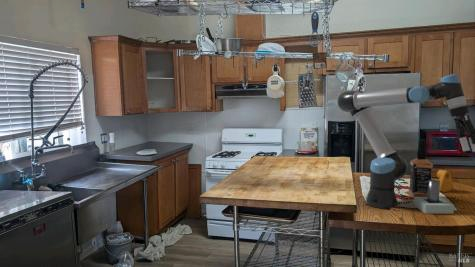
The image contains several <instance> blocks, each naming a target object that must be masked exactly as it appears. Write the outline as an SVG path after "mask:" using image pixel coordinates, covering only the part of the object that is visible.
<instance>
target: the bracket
mask: <svg viewBox="0 0 475 267" xmlns="http://www.w3.org/2000/svg"><path fill="white" fill-rule="evenodd" d="M436 177H437V178H438V180H439V181H440V192H442V193H445V192H450V191H451V190H454V184H453V183H454V182H453V178H452V174H451V171H450V170H445V169H439V170H438V171H437V173H436Z"/></svg>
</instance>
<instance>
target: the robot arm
mask: <svg viewBox="0 0 475 267" xmlns="http://www.w3.org/2000/svg"><path fill="white" fill-rule="evenodd" d="M444 98H445V100H446V104H447V106H448V109H449V114H450V117H452V118H453V120H454V125H455V131H456V137H457V138H459V142H460V144H461V148H462V152H467V151H470V150H471V151H472V152H473V153H475V127H474V124H473V123H472V120H471V119H470V115H468V114H469V113H470V109H469V106H468V105H467V97H465V94H464V89H463V86H462V82H461V81H460V77H459V75H458V74H456V73H452V74H449V75H446V76H443V77H441V78H440V82H438V83H435V84H431V85H424V86H423V85H417V86H413V87H403V88H394V89H384V90H376V91H367V92H365V91H363V90H346V91H343V92H342V93H341V94H340V95H339V96H338V97H337V107H338V108H339V109H340V110H342V111H343V112H346V113H350V115H351V117H352V118H353V119H356V120H357V122H358V124H359V126H360V127H361V129H362V131H363V133H364V134H365V136H366V138H367V140H368V142H369V144H370V145H371V148H372V150H373V151H374V153H375V155H376V158H374V159H372V160H371V162H370V167H369V168H370V171H369V172H370V175H369V178H370V180H369V182H370V183H369V190H368V193H367V195H366V199H365V203H366V204H367V205H368V206H370V207H373V208H377V209H391V208H393V207H397V206H398V198H397V195H396V191H395V181H397V180H400V179H401V178H403V177H405V175H406V174H407V173H408V170H409V165H408V162H407V160H406V159H405V158H403V157H402V156H400V154H399V153H398V151H396V150H394V149H393V148H392V146H391V145H390V143H389V141H388V139H387V138H386V136H385V134H384V132H383V130H382V129H381V127H380V125H379V123H378V122H377V120H376V118H375V116H374V114H373V113H372V110H373V107H379V106H380V107H381V106H390V105H391V106H394V105H403V104H404V105H406V104H417V103H418V104H422V105H423V104H427V103H431V102H434V101H438V100H441V99H444ZM466 114H467V115H466ZM454 117H455V118H454ZM467 138H468V139H467ZM469 145H470V146H469ZM470 147H471V148H470Z"/></svg>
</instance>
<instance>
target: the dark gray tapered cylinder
mask: <svg viewBox="0 0 475 267" xmlns="http://www.w3.org/2000/svg"><path fill="white" fill-rule="evenodd" d="M440 192H441V191H440V181H439V179H432V178H431V180H428V196H427V202H428V203H439V197H440Z"/></svg>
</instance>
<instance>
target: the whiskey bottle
mask: <svg viewBox="0 0 475 267" xmlns="http://www.w3.org/2000/svg"><path fill="white" fill-rule="evenodd" d="M417 144H418V145H417V146H418V147H417V151H416V158H414V159H411V160H410V161H409V164H410V176H409V188H408V197H410V198H411V199H414V197H427V196H428V180H431V179H432V174H433V173H432V172H433V170H432V169H433V168H434V167H433V166H434V164H433V163H432V162H431V161H430V160H429V159H427V153H428V152H427V140H426V139H418V143H417Z"/></svg>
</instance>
